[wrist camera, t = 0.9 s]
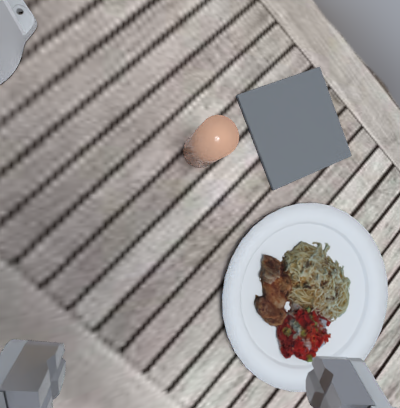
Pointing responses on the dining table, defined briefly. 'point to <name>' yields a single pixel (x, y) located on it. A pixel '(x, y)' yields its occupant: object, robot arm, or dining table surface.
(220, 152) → the tan rounded cylinder
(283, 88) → the mat
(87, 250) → the dining table surface
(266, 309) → the plated food
